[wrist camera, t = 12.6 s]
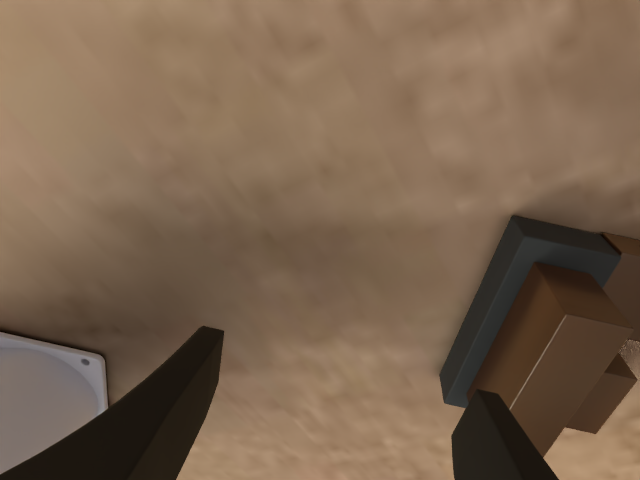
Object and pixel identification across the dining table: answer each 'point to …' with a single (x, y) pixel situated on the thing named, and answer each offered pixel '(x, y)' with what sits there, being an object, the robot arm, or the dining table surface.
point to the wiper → (539, 327)
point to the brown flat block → (626, 280)
